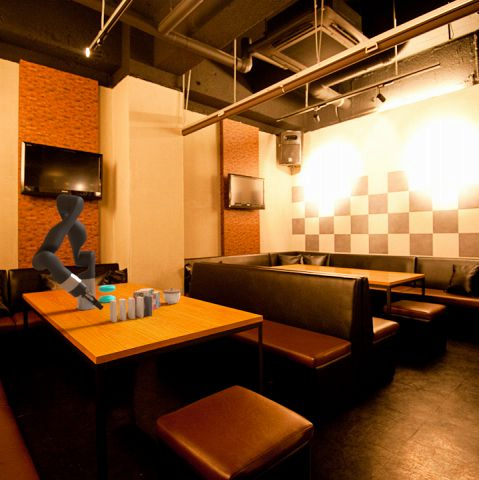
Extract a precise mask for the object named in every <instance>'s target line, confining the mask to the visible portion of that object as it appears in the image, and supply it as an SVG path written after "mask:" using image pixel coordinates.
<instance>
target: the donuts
mask: <svg viewBox="0 0 479 480" xmlns="http://www.w3.org/2000/svg"><path fill="white" fill-rule="evenodd" d="M115 290H116V286H115V285H114V284H113V285H112V284H106V285H100V286H99V287H98V291H99V292H101V293H110V292H111V293H112V292H113V291H115ZM110 300H115V301H116V296H114V295H111V294H109V295H101V296H100V297H98V302H99V303H100V304H102V303H104V304H107V303H110Z"/></svg>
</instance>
